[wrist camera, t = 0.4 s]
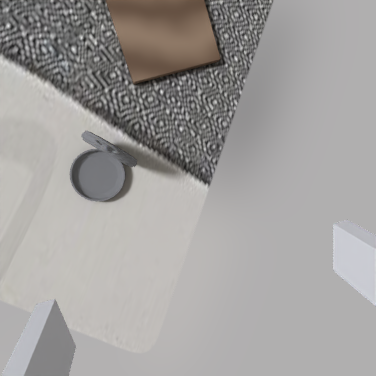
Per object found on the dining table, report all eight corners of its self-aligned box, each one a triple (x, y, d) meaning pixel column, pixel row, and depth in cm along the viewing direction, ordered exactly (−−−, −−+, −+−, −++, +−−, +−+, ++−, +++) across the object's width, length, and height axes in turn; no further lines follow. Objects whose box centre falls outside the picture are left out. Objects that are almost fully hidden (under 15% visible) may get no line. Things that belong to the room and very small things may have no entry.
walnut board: (89, -49, 32) (88, -56, 31) (182, -65, 34) (184, -72, 33) (133, 84, 34) (133, 82, 33) (218, 61, 36) (220, 59, 35)
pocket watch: (74, 202, 34) (51, 217, 24) (67, 135, 33) (41, 123, 23) (138, 197, 36) (142, 209, 26) (134, 134, 35) (136, 122, 25)
